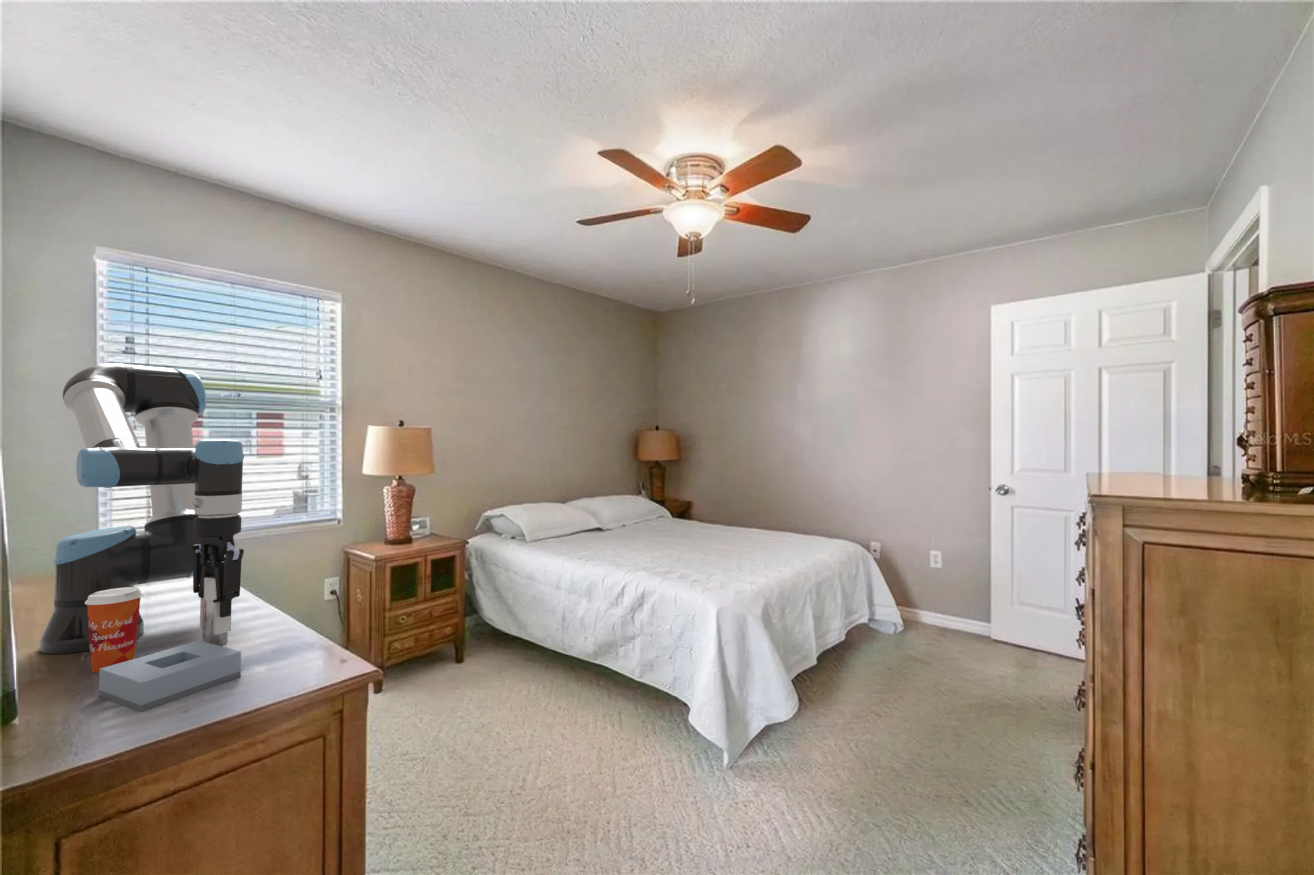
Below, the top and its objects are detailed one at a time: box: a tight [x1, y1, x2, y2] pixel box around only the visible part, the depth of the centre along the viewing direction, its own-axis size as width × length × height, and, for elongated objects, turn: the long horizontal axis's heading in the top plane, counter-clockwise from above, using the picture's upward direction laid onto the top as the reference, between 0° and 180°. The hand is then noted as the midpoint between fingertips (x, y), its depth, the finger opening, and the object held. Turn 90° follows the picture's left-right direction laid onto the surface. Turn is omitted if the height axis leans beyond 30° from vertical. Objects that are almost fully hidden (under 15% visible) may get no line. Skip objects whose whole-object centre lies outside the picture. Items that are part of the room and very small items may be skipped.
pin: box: [201, 575, 229, 647], centre depth 108 cm, size 4×4×14 cm
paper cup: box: [85, 586, 145, 673], centre depth 100 cm, size 8×8×14 cm
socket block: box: [98, 640, 242, 713], centre depth 92 cm, size 13×14×4 cm
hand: (215, 630), depth 108 cm, fingers closed on pin, 4 cm apart
